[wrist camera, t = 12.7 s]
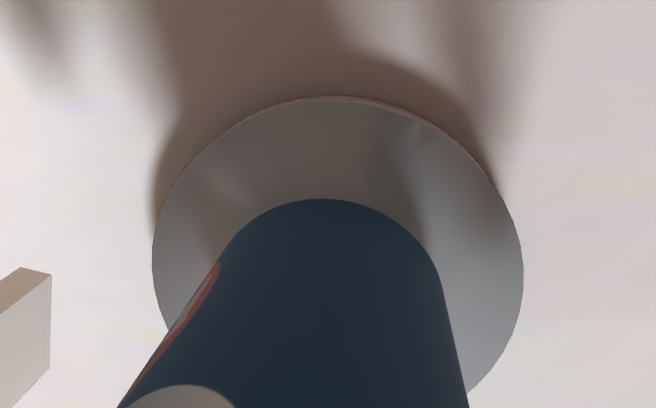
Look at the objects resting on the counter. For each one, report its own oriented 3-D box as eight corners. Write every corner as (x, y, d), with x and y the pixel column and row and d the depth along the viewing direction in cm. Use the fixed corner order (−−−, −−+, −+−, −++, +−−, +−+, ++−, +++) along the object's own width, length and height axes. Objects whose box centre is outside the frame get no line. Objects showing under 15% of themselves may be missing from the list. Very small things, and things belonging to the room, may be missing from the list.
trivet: (126, 128, 17) (103, 137, 15) (498, 64, 15) (511, 68, 13) (216, 415, 21) (204, 444, 19) (521, 392, 19) (532, 423, 17)
